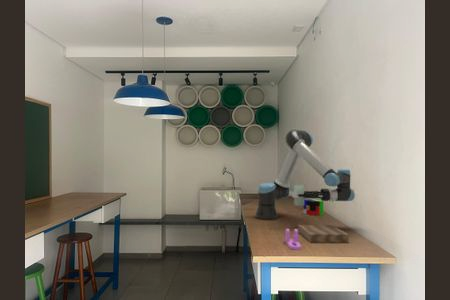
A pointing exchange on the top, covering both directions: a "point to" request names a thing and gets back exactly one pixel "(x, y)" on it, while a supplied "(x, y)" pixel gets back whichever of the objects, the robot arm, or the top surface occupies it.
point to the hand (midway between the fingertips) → (291, 194)
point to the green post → (299, 190)
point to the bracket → (292, 240)
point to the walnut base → (323, 233)
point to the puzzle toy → (313, 207)
